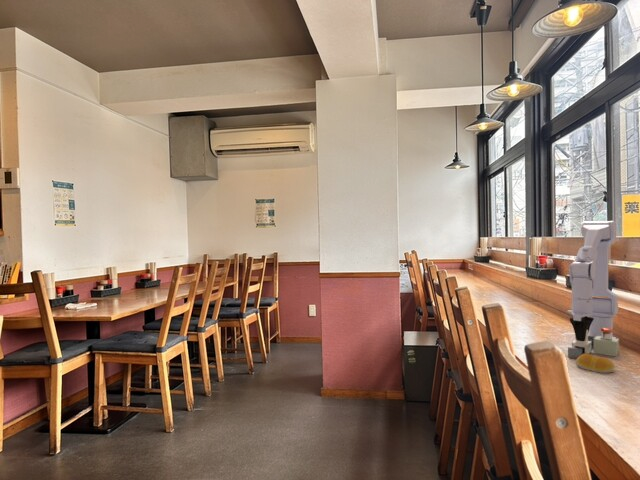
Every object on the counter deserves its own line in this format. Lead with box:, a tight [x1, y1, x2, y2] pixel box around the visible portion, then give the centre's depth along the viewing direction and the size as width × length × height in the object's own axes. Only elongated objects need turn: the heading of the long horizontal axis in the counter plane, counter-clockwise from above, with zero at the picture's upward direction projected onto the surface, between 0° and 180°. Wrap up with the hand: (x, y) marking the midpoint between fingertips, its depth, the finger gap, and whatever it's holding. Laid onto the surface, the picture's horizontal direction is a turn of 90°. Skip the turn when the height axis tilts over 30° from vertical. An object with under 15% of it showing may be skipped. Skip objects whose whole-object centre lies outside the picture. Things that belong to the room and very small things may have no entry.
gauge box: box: [593, 336, 620, 357], centre depth 132 cm, size 6×6×4 cm
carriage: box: [571, 330, 592, 354], centre depth 133 cm, size 6×4×7 cm
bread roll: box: [575, 353, 616, 374], centre depth 116 cm, size 8×9×4 cm
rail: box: [567, 335, 595, 360], centre depth 134 cm, size 24×4×3 cm, turn 137°
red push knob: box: [600, 328, 614, 340], centre depth 132 cm, size 3×3×5 cm
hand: (581, 339), depth 133 cm, fingers closed on carriage, 3 cm apart
